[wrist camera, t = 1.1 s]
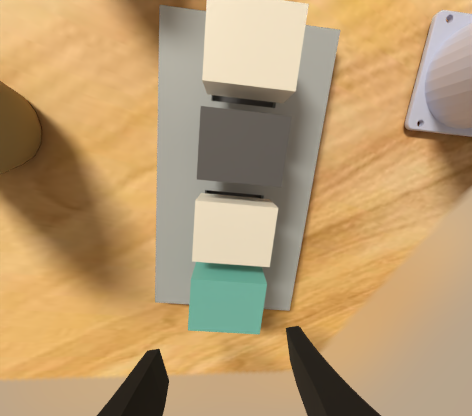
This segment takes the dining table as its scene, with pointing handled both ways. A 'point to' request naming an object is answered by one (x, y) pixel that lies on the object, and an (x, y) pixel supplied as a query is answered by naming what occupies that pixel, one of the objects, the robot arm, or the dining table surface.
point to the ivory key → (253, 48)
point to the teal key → (226, 298)
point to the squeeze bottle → (17, 129)
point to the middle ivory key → (233, 230)
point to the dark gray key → (242, 146)
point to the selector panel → (189, 188)
